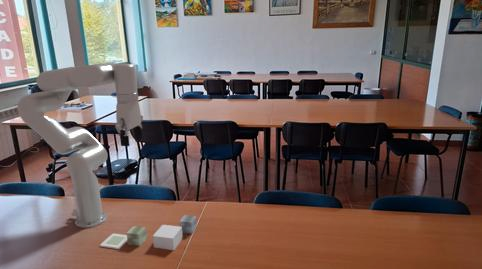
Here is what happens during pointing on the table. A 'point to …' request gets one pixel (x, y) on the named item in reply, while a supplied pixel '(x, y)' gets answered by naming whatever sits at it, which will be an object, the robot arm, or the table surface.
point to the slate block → (188, 224)
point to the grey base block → (167, 237)
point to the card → (114, 241)
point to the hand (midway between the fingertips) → (132, 142)
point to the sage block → (136, 235)
